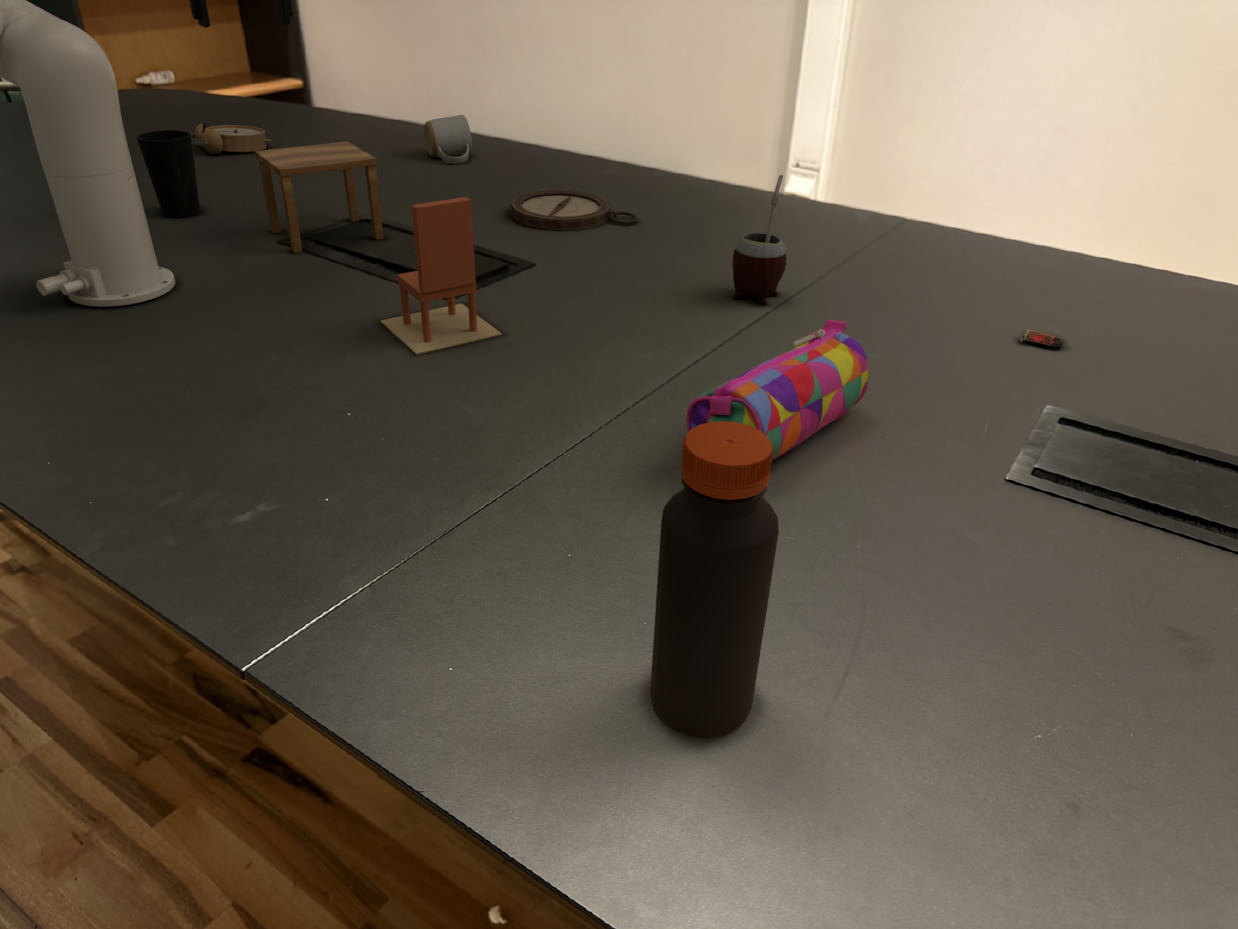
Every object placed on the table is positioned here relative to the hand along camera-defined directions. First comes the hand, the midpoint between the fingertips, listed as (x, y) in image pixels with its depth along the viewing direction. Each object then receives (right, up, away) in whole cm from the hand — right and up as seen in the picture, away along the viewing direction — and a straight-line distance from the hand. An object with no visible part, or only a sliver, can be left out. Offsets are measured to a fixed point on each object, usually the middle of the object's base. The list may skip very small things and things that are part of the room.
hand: (245, 24), depth 112 cm
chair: (+25, -38, -3) cm, 46 cm away
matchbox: (+99, -40, -1) cm, 107 cm away
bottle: (+52, -71, -53) cm, 103 cm away
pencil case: (+63, -52, -23) cm, 85 cm away
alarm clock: (-32, +8, +69) cm, 76 cm away
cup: (-24, -14, +33) cm, 43 cm away
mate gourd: (+65, -32, +10) cm, 73 cm away
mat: (+25, -38, -3) cm, 46 cm away
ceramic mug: (+13, +6, +68) cm, 70 cm away
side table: (+2, -20, +25) cm, 32 cm away
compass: (+38, -14, +37) cm, 55 cm away
